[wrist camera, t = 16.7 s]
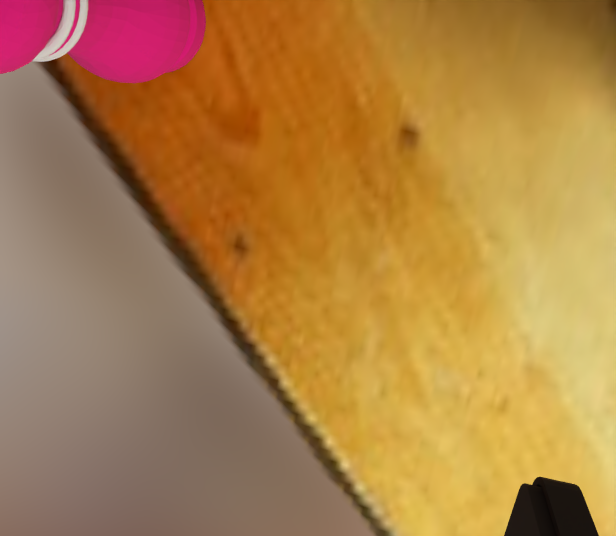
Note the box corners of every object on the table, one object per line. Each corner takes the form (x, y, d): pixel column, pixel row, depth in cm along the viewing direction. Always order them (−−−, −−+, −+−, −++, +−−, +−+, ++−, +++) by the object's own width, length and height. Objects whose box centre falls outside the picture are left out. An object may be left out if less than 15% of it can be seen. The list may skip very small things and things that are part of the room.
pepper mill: (150, -77, 33) (-191, -259, 14) (238, 17, 34) (23, -39, 15) (81, 19, 36) (-284, -29, 17) (164, 105, 36) (-96, 148, 18)
